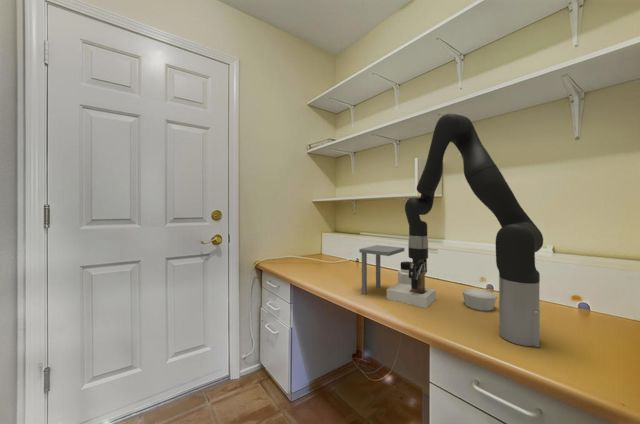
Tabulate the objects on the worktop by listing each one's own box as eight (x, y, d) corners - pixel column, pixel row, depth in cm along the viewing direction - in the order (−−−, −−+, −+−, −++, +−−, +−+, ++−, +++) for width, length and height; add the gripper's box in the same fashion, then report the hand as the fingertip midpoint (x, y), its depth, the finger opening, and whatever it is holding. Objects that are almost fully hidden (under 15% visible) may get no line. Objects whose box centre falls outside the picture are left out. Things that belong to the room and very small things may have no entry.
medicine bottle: (417, 288, 120) (417, 263, 120) (402, 288, 120) (402, 263, 120) (412, 284, 127) (411, 260, 127) (397, 284, 127) (397, 260, 127)
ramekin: (463, 299, 106) (463, 286, 106) (496, 304, 100) (496, 291, 100) (461, 308, 96) (461, 294, 96) (497, 314, 90) (497, 300, 90)
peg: (424, 300, 105) (424, 271, 104) (421, 303, 101) (421, 273, 101) (415, 298, 107) (414, 270, 107) (411, 301, 104) (411, 271, 104)
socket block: (435, 299, 106) (435, 290, 106) (425, 308, 96) (425, 297, 96) (398, 291, 116) (398, 282, 116) (386, 298, 107) (386, 289, 107)
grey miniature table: (404, 291, 116) (404, 247, 116) (389, 301, 104) (388, 252, 104) (376, 285, 125) (376, 245, 125) (359, 293, 113) (359, 249, 113)
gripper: (421, 249, 96) (421, 292, 96) (433, 245, 107) (433, 283, 107) (402, 247, 101) (402, 288, 101) (415, 243, 112) (415, 280, 112)
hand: (418, 286), depth 104 cm, fingers open, 8 cm apart
